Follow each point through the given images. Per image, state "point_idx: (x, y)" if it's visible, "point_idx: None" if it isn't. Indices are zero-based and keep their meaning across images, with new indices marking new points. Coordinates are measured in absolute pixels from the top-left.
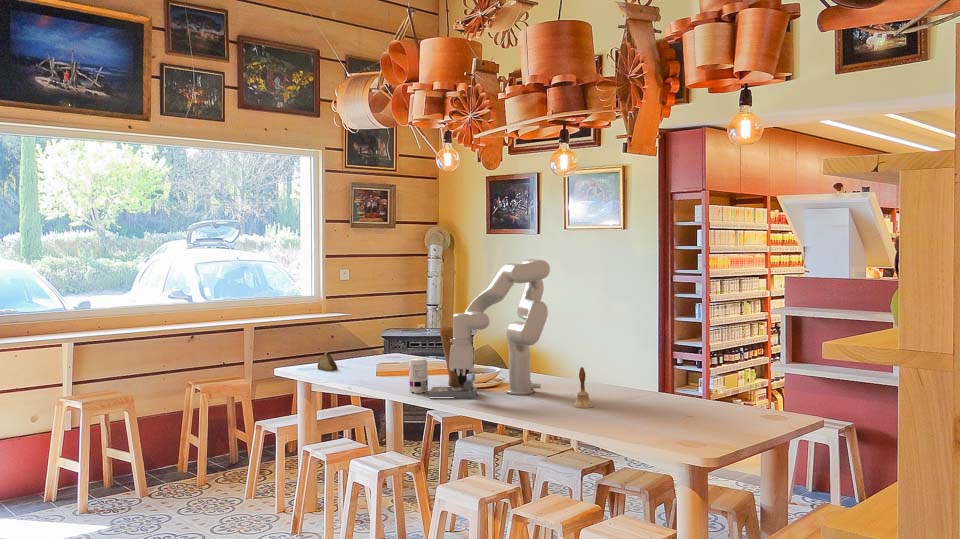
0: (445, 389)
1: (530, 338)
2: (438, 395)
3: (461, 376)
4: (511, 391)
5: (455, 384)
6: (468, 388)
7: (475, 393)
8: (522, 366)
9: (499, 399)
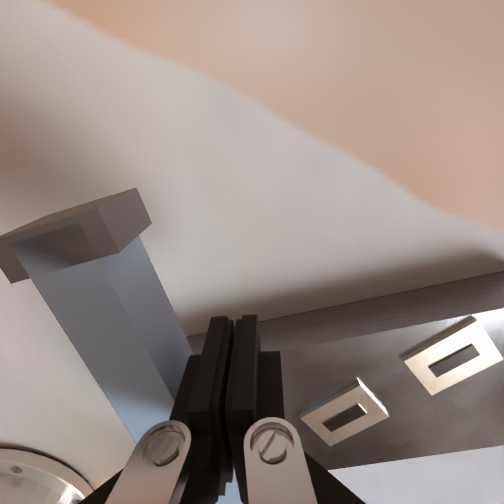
0: (429, 375)
1: None
2: (460, 295)
3: (213, 408)
4: (30, 473)
5: None
6: (81, 205)
7: None
8: None
9: (26, 347)
